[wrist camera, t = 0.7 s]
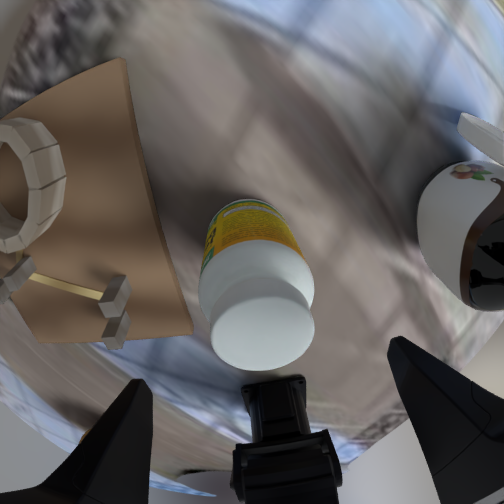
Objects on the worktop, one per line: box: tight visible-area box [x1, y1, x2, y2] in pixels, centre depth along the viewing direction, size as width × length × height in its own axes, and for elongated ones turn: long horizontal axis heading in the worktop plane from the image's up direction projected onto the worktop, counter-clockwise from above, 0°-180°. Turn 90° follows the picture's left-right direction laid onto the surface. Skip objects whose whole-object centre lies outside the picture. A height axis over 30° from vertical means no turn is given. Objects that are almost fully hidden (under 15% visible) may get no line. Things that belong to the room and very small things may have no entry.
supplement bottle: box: [198, 199, 314, 371], centre depth 15 cm, size 5×5×10 cm
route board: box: [0, 57, 194, 350], centre depth 16 cm, size 20×17×4 cm
